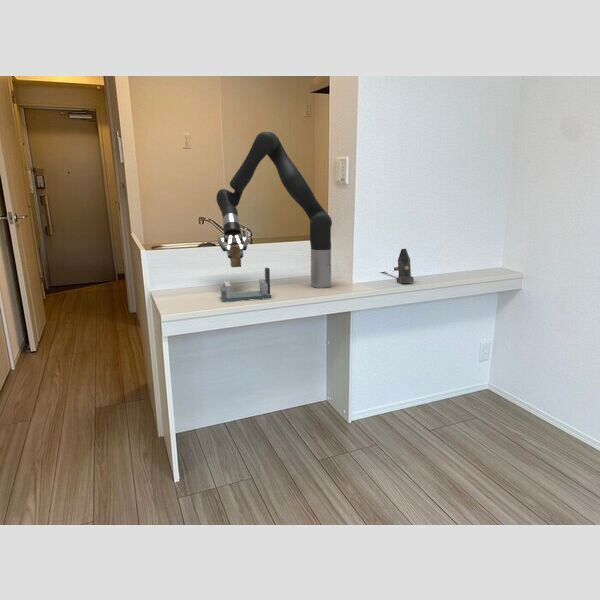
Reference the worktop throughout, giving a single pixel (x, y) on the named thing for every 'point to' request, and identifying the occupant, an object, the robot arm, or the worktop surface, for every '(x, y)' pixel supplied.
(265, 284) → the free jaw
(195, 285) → the worktop surface
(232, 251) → the block
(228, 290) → the vise
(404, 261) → the dark tapered tower
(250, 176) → the robot arm
